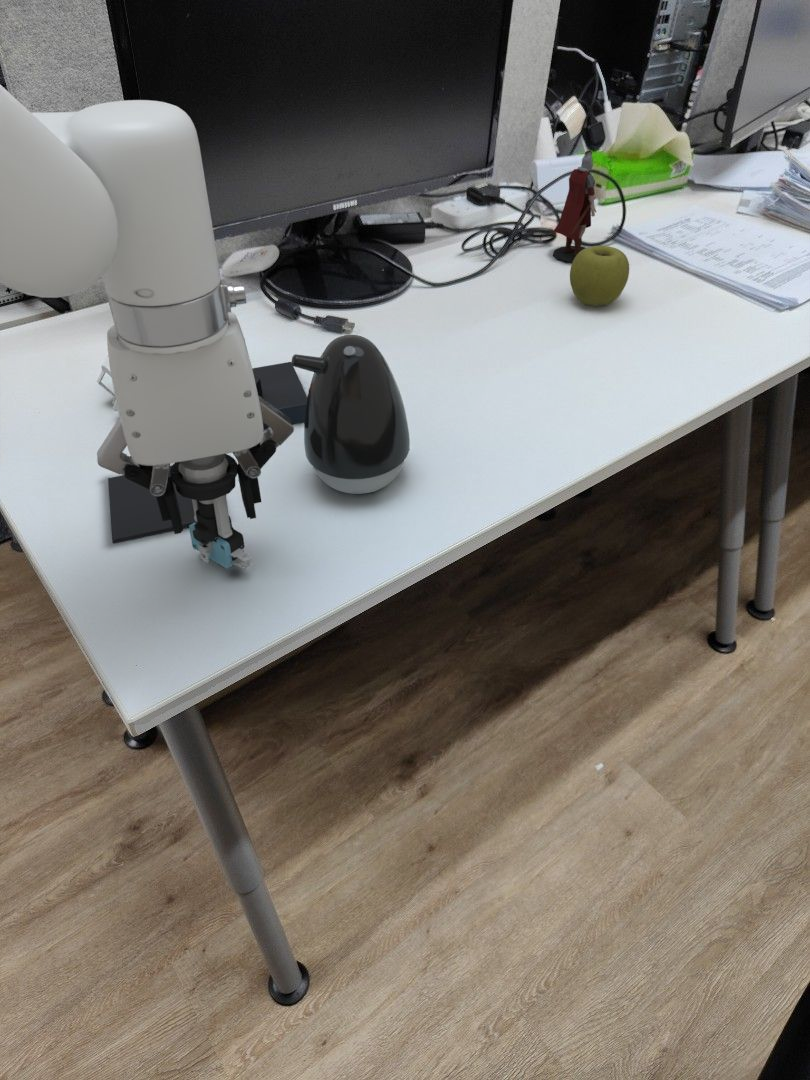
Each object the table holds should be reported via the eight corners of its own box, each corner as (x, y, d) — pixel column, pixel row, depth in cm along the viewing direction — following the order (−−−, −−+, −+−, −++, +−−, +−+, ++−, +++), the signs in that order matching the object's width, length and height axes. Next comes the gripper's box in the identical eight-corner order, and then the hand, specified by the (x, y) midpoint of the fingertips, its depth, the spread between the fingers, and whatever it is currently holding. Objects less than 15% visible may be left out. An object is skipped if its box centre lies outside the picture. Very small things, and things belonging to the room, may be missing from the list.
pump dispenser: (297, 459, 79) (279, 322, 69) (393, 441, 81) (388, 305, 71) (319, 519, 72) (301, 375, 62) (423, 497, 74) (423, 355, 64)
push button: (271, 557, 67) (261, 462, 61) (225, 589, 64) (210, 491, 58) (220, 527, 70) (205, 433, 64) (173, 556, 67) (154, 460, 61)
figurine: (605, 258, 118) (621, 152, 108) (567, 268, 115) (580, 161, 105) (577, 244, 122) (590, 142, 112) (540, 253, 120) (551, 149, 110)
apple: (601, 319, 102) (609, 267, 97) (554, 301, 106) (560, 250, 102) (634, 302, 106) (644, 251, 101) (588, 285, 110) (595, 235, 105)
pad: (113, 543, 70) (111, 540, 70) (109, 481, 77) (107, 478, 77) (222, 519, 72) (221, 516, 72) (208, 461, 79) (207, 458, 79)
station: (203, 441, 82) (196, 409, 80) (193, 395, 89) (185, 364, 87) (312, 420, 85) (308, 388, 82) (293, 377, 92) (289, 347, 89)
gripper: (282, 274, 57) (304, 472, 69) (38, 305, 53) (106, 509, 65) (304, 315, 51) (323, 522, 63) (34, 353, 47) (109, 567, 59)
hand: (213, 514), depth 64 cm, fingers closed on push button, 5 cm apart
